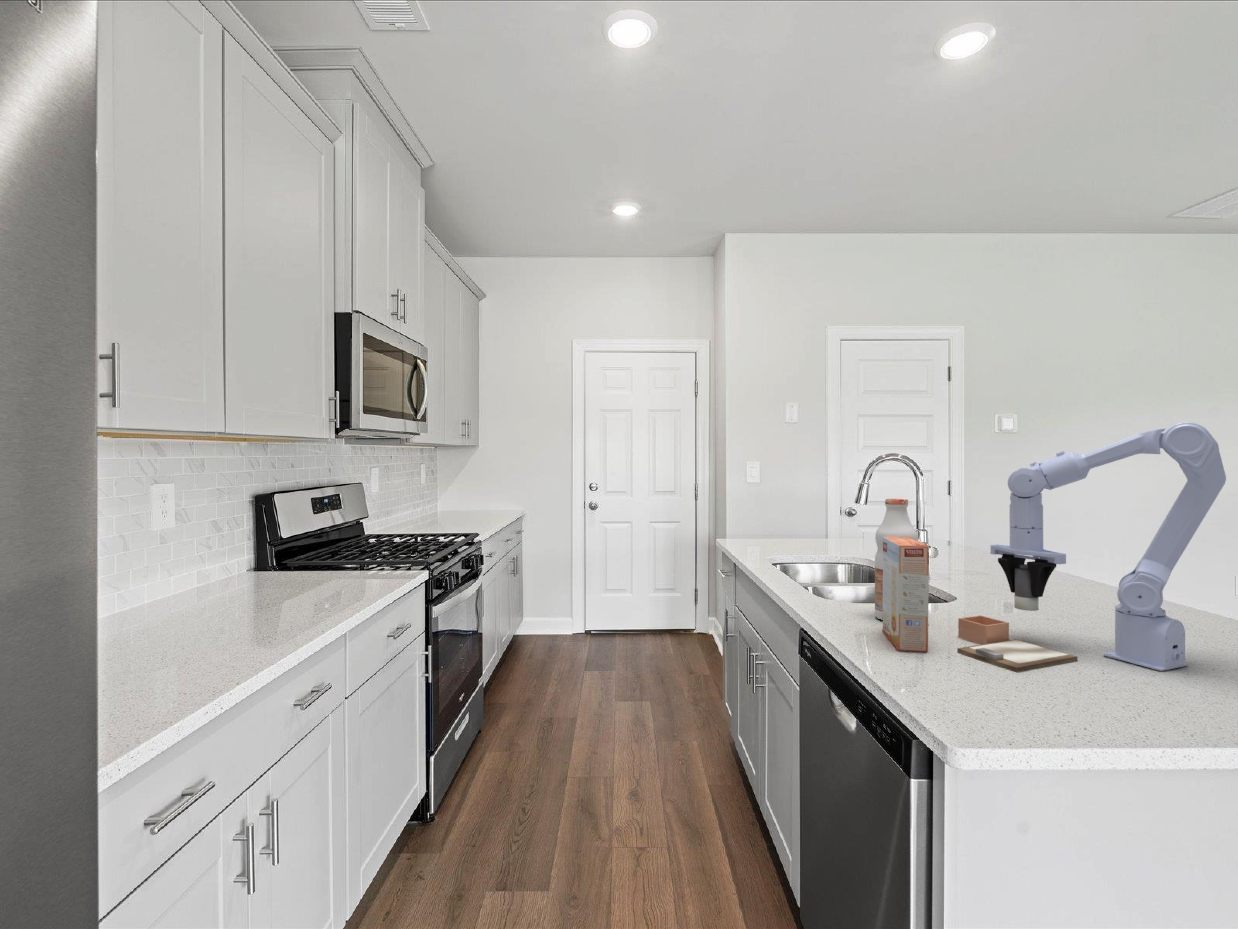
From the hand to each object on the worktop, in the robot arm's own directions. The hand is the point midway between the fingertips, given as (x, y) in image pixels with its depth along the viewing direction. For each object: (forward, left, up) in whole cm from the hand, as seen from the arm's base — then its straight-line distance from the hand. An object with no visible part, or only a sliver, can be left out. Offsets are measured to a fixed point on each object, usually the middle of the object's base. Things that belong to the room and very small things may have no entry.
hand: (1026, 594), depth 127 cm
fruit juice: (+24, +11, -10) cm, 28 cm away
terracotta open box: (+5, +7, -10) cm, 13 cm away
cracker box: (+10, +23, -10) cm, 26 cm away
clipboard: (-5, +11, -10) cm, 15 cm away
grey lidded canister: (0, 0, -3) cm, 3 cm away
